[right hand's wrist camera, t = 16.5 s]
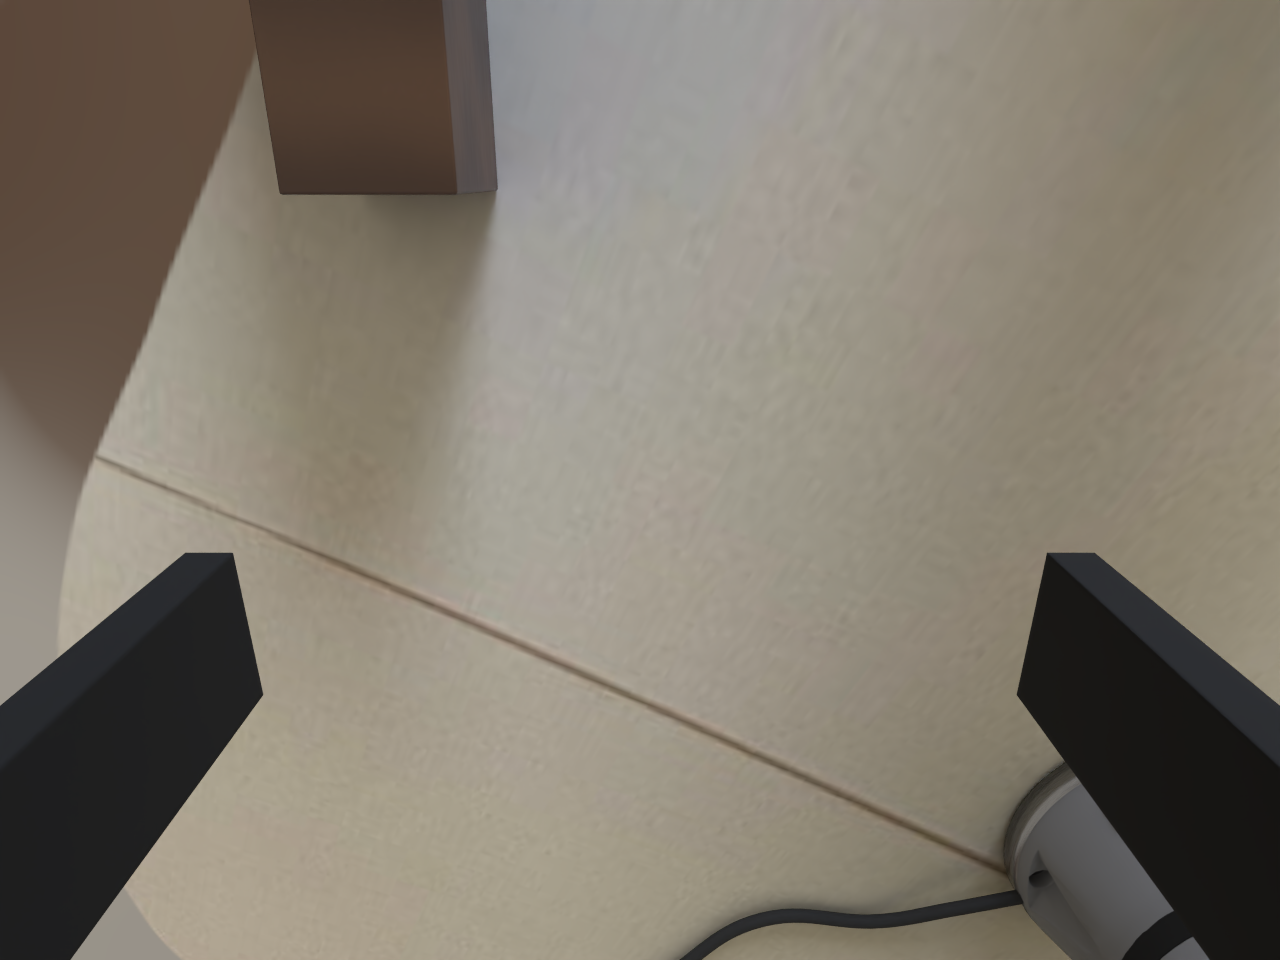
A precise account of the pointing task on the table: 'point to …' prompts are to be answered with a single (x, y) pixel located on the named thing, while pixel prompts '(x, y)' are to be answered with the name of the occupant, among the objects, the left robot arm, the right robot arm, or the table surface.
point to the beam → (377, 95)
